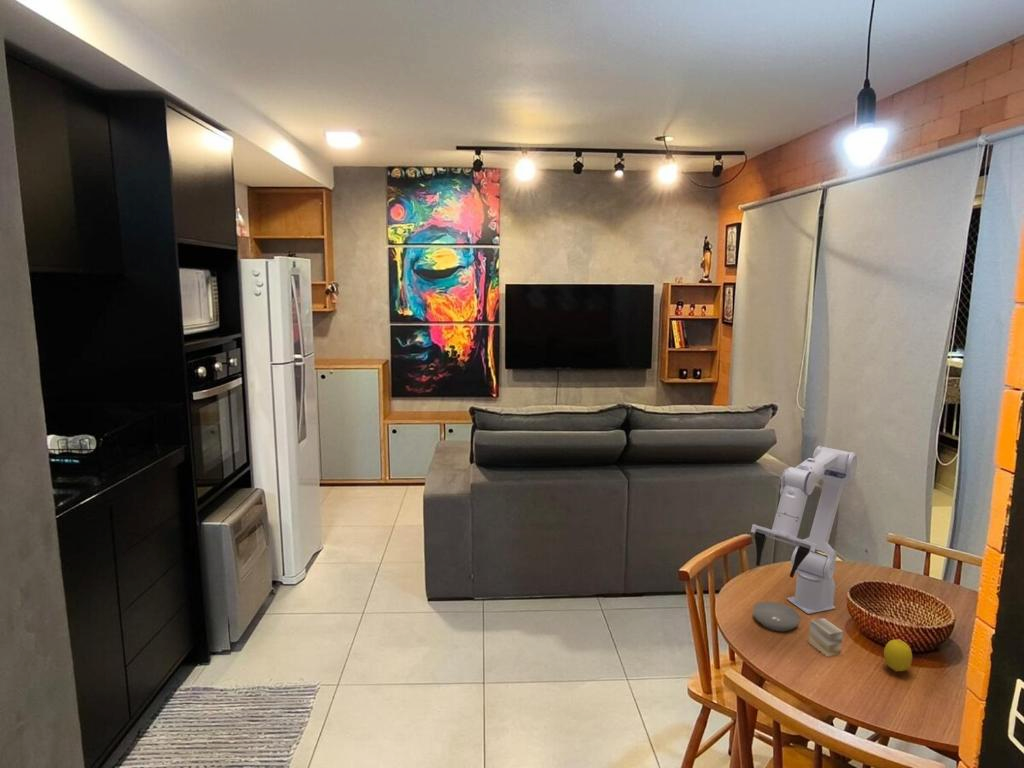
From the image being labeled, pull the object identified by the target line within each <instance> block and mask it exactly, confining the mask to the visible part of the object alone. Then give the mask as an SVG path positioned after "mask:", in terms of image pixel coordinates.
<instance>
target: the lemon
mask: <svg viewBox="0 0 1024 768" xmlns="http://www.w3.org/2000/svg"><path fill="white" fill-rule="evenodd" d="M883 658H884V659H883V660H884V662H885V663H886V665H887V666H888V667H889V668H890V669H891V670H893V671H894V672H896V673H898V672H904V671H907V670H908V669H909V668H910V667H911V666H912V665H911V664H912V663H913V653H912V649H911V647H910V646H909V645H908V644H907V643H906V642H905V641H903V640H902V639H900V638H899V639H891V640H889V641H888V642H887V643H886V644H885V647H884V649H883Z"/></svg>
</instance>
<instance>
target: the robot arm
mask: <svg viewBox="0 0 1024 768" xmlns="http://www.w3.org/2000/svg"><path fill="white" fill-rule="evenodd" d="M857 465H858V456H857V454H856V453H855V452H854V451H851V452H850V451H845V450H841V449H835V448H830V447H825V446H823V445H818V446H817V447H816V448H814V451H813V454H812V458H811V457H808V458H807V459H804V461H802V462H801V463H799V464H798V465H797V466H795V467H792V466H789V467H787V468H785V469H784V470H783V473H782V475H781V478H780V480H781V482H780V489H779V494H780V497H779V503H778V504H777V505H778V506H777V509H776V513H775V516H774V520H773V524H772V528H771V529H769V528H767V527H763V526H759V525H757V524H754V523H752V525H751V530H750V532H751V533H754V541H755V542H754V543H755V548H756V549H755V550H756V562H755V566H758V567H759V566H760V565H761V561H762V556H763V551H764V547H765V544H766V541H767V538H769V539H772V540H776V541H779V542H782V543H784V544H785V543H786V544H788V545H791V546H794V547H795V548H794V550H793V552H792V554H791V557H790V565H791V569H790V574H789V578H792V579H794V577H795V574H796V582H795V590H794V596H790V597H789V596H788V597H787V598H786V600H788V601H789V602H790V603H791V604H793V605H795V606H796V607H797V608H799V609H800V610H802V612H804V613H806V614H808V615H809V614H815V613H819V612H820V613H821V612H825V611H830V610H834V609H836V606H835V605H834V602H835V601H834V599H835V590H836V582H835V579H834V578H833V576H834V574H835V570H836V560H837V553H836V551H835V550H834V549H833V547H832V546H831V544H829V540H830V537H831V533H832V528H833V525H834V522H835V518H836V513H837V510H838V507H839V504H840V499H841V495H842V493H843V490H844V487H845V486H846V485H847V486H848V485H850V484H852V482H853V480H854V477H855V473H856V470H857ZM820 480H822V481H823V486H822V489H821V493H820V497H819V500H818V504H817V507H816V511H815V514H814V519H813V522H812V525H811V529H810V532H809V536H808V537H806V538H803V539H801V538H798V536H799V535H798V534H799V531H800V527H801V523H802V518H803V516H804V511H805V507H806V504H807V501H808V496H810V495H812V493H813V492H814V489H815V487H816V485H817V482H820ZM776 536H777V537H776ZM779 537H780V538H779ZM782 538H784V539H786V540H784V539H782ZM789 540H790V541H789ZM819 552H820V553H819Z"/></svg>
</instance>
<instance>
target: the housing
mask: <svg viewBox="0 0 1024 768" xmlns="http://www.w3.org/2000/svg"><path fill="white" fill-rule="evenodd" d="M808 634H809V635H808V644H810V645H811V646H812V647H814V648H815V649H816V648H817V649H816V650H818V652H820V651H821V652H820V653H821V654H823V655H824V654H825V655H824V656H825V657H827V656H828V657H832V655H833V656H836V655H835V654H837V655H840V653H841V651H842V646H843V645H842V644H843V635H844V631H843V630H842V629H840V628H839V627H837V626H836V625H835V624H833V623H832V622H830V621H829V620H828V619H826V618H825V617H822V618H821V617H820V618H816V619H812V620H810V625H809V633H808Z"/></svg>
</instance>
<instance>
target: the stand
mask: <svg viewBox="0 0 1024 768" xmlns="http://www.w3.org/2000/svg"><path fill="white" fill-rule="evenodd" d="M752 614H753V617H754V618H755V619H756V620H757V622H758V621H759V622H760V623H761V624H762V626H763V627H765V628H766V627H767V628H766V629H769V630H771V629H772V631H775V630H776V631H775V632H789V631H791V630H793V629H794V628H796V627H798V625H799V624H800V615H799V613H798V612H797V611H796V610H795V609H793V608H792V607H790V606H788V605H786V604H783V603H780V602H775V601H760V602H757V603H755V605H754V606H753V613H752ZM759 622H758V623H759ZM760 623H759V624H760ZM761 624H760V625H761Z"/></svg>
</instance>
